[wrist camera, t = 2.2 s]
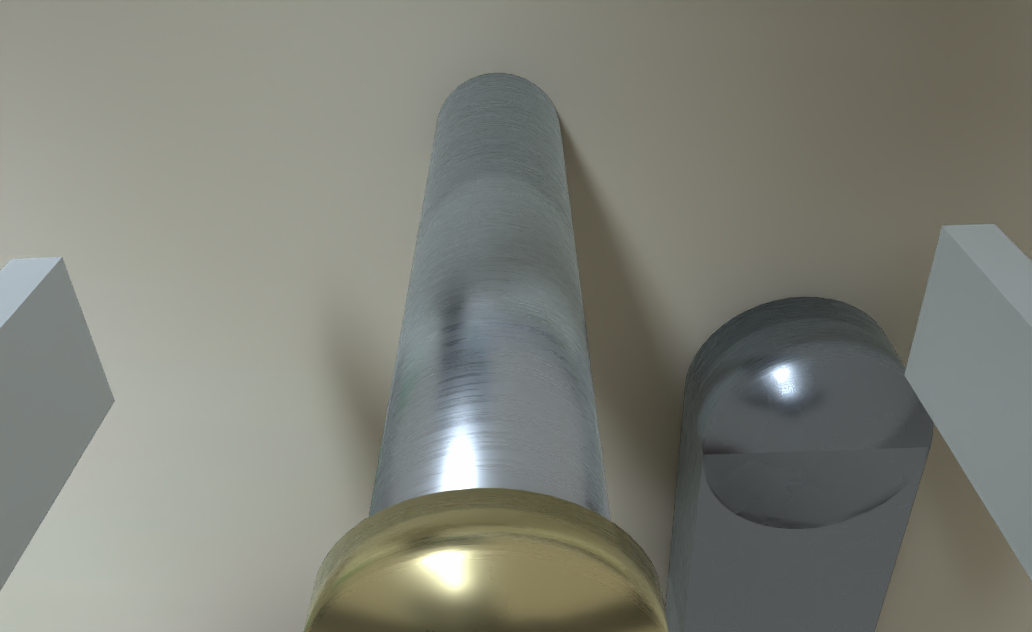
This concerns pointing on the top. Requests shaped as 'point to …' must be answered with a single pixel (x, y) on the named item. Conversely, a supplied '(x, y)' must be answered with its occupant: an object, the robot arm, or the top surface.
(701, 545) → the grey rounded bar
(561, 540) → the pin
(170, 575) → the top surface
